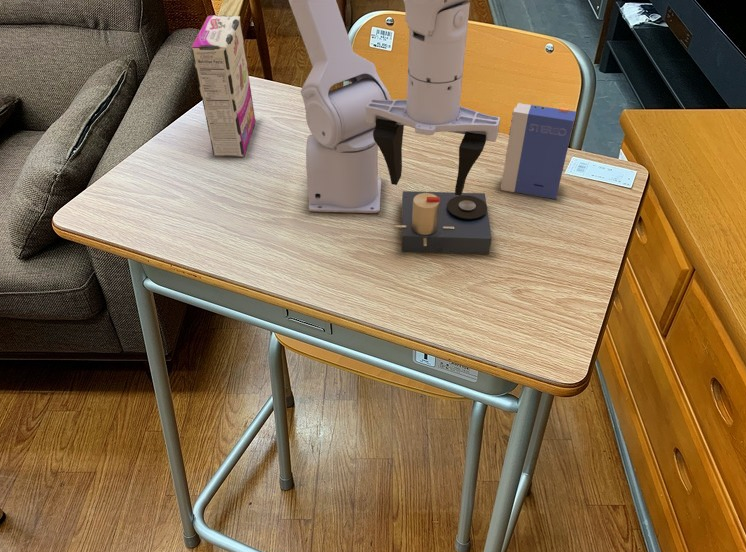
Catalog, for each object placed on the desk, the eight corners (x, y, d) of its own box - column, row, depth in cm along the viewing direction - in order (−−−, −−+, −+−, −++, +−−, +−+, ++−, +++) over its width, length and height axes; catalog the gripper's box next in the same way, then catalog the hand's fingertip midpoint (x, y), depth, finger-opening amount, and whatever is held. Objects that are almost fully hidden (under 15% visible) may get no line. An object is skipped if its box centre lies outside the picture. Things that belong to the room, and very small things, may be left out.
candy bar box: (225, 121, 106) (206, 14, 94) (256, 122, 106) (241, 14, 94) (211, 157, 98) (189, 45, 86) (244, 158, 98) (227, 46, 86)
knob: (411, 234, 81) (413, 205, 78) (411, 219, 83) (413, 190, 80) (437, 235, 81) (440, 206, 78) (437, 220, 83) (439, 191, 80)
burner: (447, 220, 83) (447, 216, 83) (445, 197, 87) (446, 193, 87) (488, 222, 83) (489, 217, 83) (485, 198, 87) (485, 194, 87)
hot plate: (393, 261, 81) (394, 244, 80) (395, 206, 90) (395, 189, 88) (490, 264, 81) (493, 246, 80) (482, 208, 90) (485, 192, 88)
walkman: (558, 189, 93) (576, 108, 85) (555, 199, 92) (574, 118, 83) (503, 179, 95) (516, 99, 87) (499, 189, 93) (512, 108, 85)
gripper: (356, 78, 67) (358, 193, 77) (498, 97, 64) (482, 214, 74) (376, 51, 72) (376, 162, 81) (509, 68, 69) (492, 181, 79)
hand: (427, 185), depth 78 cm, fingers open, 7 cm apart
